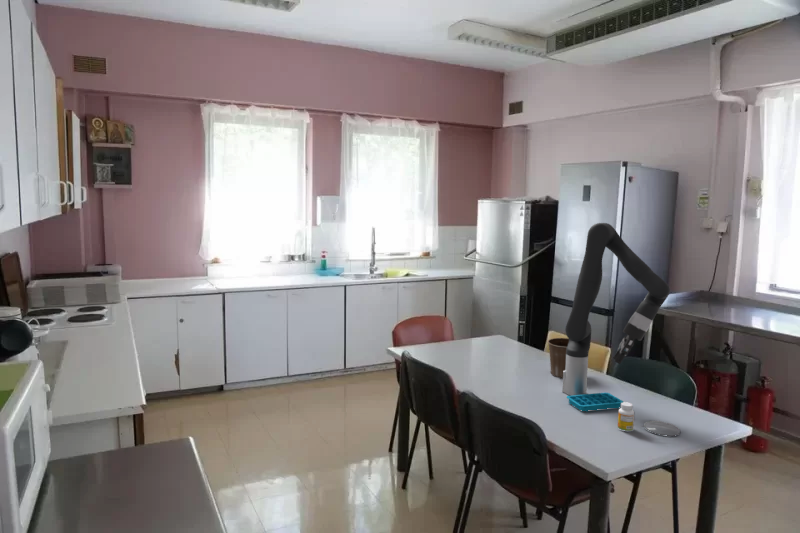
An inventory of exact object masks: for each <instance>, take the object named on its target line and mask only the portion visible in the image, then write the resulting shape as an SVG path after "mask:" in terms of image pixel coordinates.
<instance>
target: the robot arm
mask: <svg viewBox="0 0 800 533" xmlns="http://www.w3.org/2000/svg"><path fill="white" fill-rule="evenodd" d="M606 248H607V249H608V250H609V251H611V252H612V253H613V254H614V255H615V256H616V258H617V259H618V261H620V263H621V265H622V267H623V268H624V269H625V270H626V271H627V273H629V275H630V276H631V277H633V278H634V279H635V280H636V281H637V282H638V283H640V284H641V285H642V286H643V287H644V289H646V291H648V292H647V294H646V295H645V297H644V299H643V300H642V301H641V302H640V304H639V305H638V307H637V308H636V310H635V311H634V312H633V314H632V315H631V317H630V318H629V320H628V321H627V323H626V324H625V326H624V328H623V330H622V333H624V334H626V335H625V336H624V337H623V338H622V340H621V342H620V343H619V344H618V346H617V351H616V353H615V354H614V355H613V359H614V362H615V363H617V364H619V365H620V364H621V363H622V362H623V360H624V359H625V357H626V356H628V355H629V353H630V351H631V349H632V348H633V346H634V345H635V343H636V342H635V340H637V341H639V342H641V341H642V340H643V338H644V336H645V335H646V333H647V331H649V328H650V327H651V324H652V322H653V321H654V319H655V318H656V315H657V314H658V313H659V309H660V308H661V306H663V304H664V303H665V301H666V300H667V298H668V296H669V295H670V292H671V291H670V290H671V289H670V286H669V284H668V283H667V282H666V281H665V280H664V279H662V278H661V277H660V276H659V275H658V274H657V273H656V272H655V271H654V270H653V269H652V268H651V267H650V266H648V264H646V262H645V261H643V259H641V258H640V257H639V256H638V255H637V254H636V253H635V252H634V251H633V250H632V249H631V247H629V246H628V244H626V242H625V241H624V239H623V238H621V236H620V234H619V233H618V232H617V230H616V229H615V228H614V226H612V225H611V224H610V223H607V222H597V223H594V224H592V226H590V228H589V229H588V232H587V236H586V245H585V252H584V256H583V260H582V264H581V267H580V272H579V275H578V280H577V284H576V286H575V293H574V297H573V303H572V308H571V311H570V315H569V317H568V320H567V321H566V324H565V330H564V331H565V335H566V337H567V338H568V339H569V343H568V346H567V348H566V366H565V370H564V371H563V378H562V390H561V391H562V393H565V394H566V395H567V396H572V395H583V394H587V391H588V390H587V386H588V384H587V383H588V369H589V368H588V367H589V352H590V350H591V349H590V348H591V339H592V326H591V323H590V321H589V316H590V312H591V310H592V308H593V305H594V303H595V301H596V299H597V297H598V295H599V292H600V289H601V285H602V281H603V257H604V253H605V250H606Z"/></svg>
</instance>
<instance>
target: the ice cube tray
mask: <svg viewBox="0 0 800 533" xmlns="http://www.w3.org/2000/svg"><path fill="white" fill-rule="evenodd" d="M566 399H568V404H569V403H570V404H569V405H571V404H572V405H573V406H575V407H576V408H578V409H579V410H582V411H586V412H589V411H588V410H596V411H598V410H597V409H607V408H617V409H620V408H621V403H623V402H624V401H623V400H622V399H620V398H619V397H617V396H615V395H613V394H611V393H610V392H595V393H586V394H583V395H572V396H571V395H567V396H566ZM572 405H571V406H572ZM573 406H572V407H573ZM575 407H574V408H575ZM619 407H620V408H619ZM576 408H575V409H576ZM578 409H577V410H578ZM579 410H578V411H579ZM607 410H608V409H607ZM582 411H581V412H582Z"/></svg>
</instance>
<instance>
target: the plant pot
mask: <svg viewBox="0 0 800 533" xmlns="http://www.w3.org/2000/svg"><path fill="white" fill-rule="evenodd" d="M568 343H569V338H568V337H567V338H566V337H554V338H550V339H548V340H547V344H548V350H549V362H550V363H549V364H550V374H551V376H553V377H556V378H559V379H560V378H561V379H563V371H564V370H565V366H566V348H567V346H568Z"/></svg>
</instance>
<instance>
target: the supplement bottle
mask: <svg viewBox="0 0 800 533" xmlns="http://www.w3.org/2000/svg"><path fill="white" fill-rule="evenodd" d="M633 408H634V406H633V403H632V402H627V401H623V403H621V406H620V408H618V416H617V429H618V428H619V429H621V430H625V431H632V430H633V431H634V426H635V425H634V424H635V411H634V410H633ZM619 429H618V430H619ZM621 430H620V431H621ZM633 431H632V432H633Z"/></svg>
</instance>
